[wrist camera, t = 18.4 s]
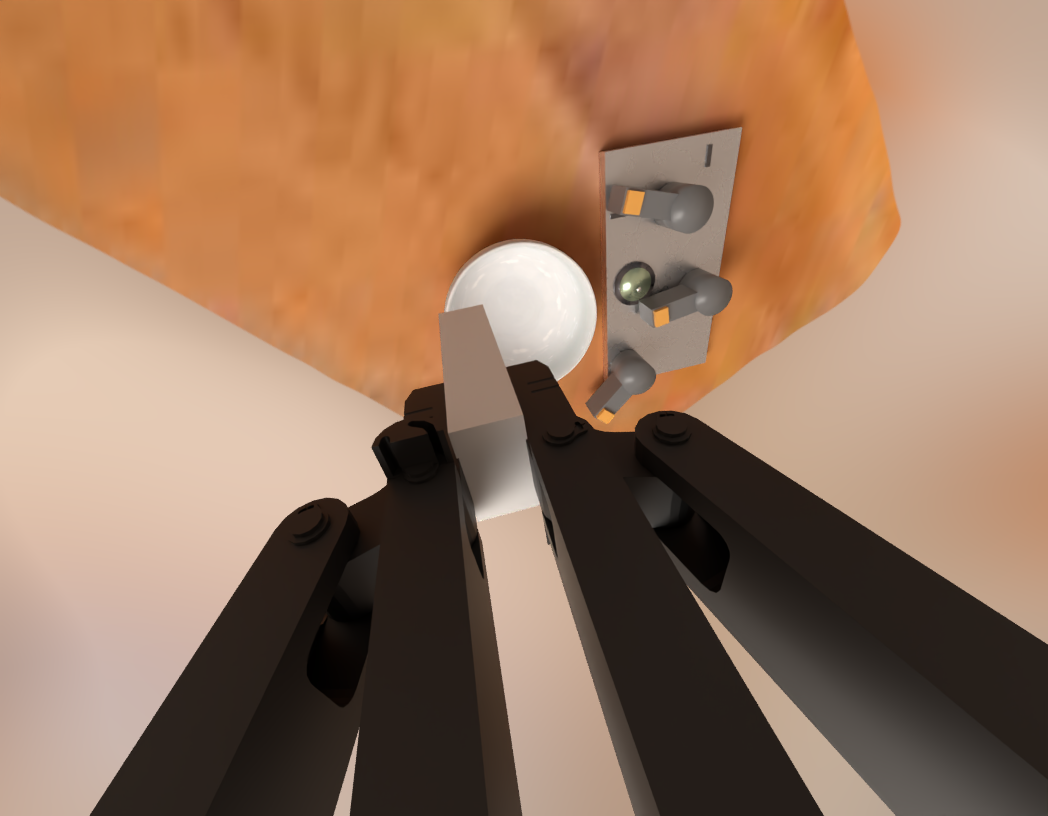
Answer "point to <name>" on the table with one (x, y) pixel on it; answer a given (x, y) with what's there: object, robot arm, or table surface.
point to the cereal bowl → (530, 302)
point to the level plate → (661, 245)
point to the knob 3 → (687, 298)
